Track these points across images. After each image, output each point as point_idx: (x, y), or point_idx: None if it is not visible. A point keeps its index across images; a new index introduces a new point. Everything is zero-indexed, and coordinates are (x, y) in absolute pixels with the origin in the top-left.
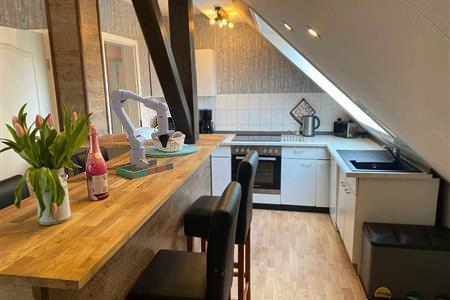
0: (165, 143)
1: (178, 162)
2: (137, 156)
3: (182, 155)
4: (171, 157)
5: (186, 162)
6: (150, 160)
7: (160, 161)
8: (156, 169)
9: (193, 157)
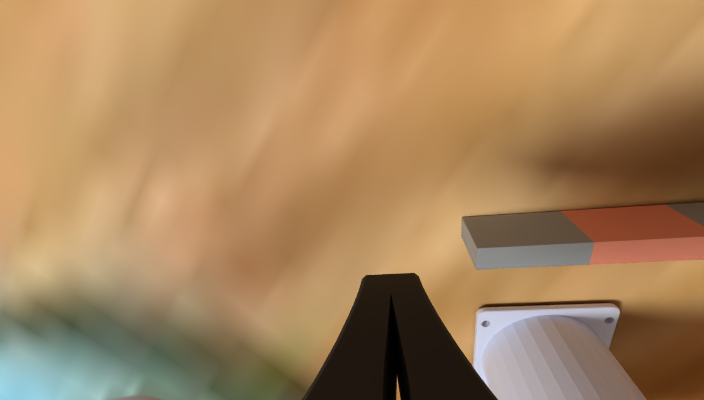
0: (409, 348)
1: (246, 108)
2: (643, 397)
3: (100, 311)
4: (214, 322)
5: (165, 27)
6: (570, 247)
7: None
8: None
9: (18, 176)
